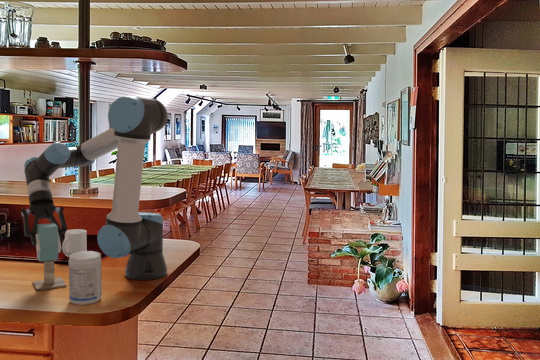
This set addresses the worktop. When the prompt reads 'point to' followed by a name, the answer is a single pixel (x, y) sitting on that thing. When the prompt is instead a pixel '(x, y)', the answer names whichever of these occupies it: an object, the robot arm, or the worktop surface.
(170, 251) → the worktop surface
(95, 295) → the supplement tub
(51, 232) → the tall teal pillar
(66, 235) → the mug
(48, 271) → the grey pedestal stand
